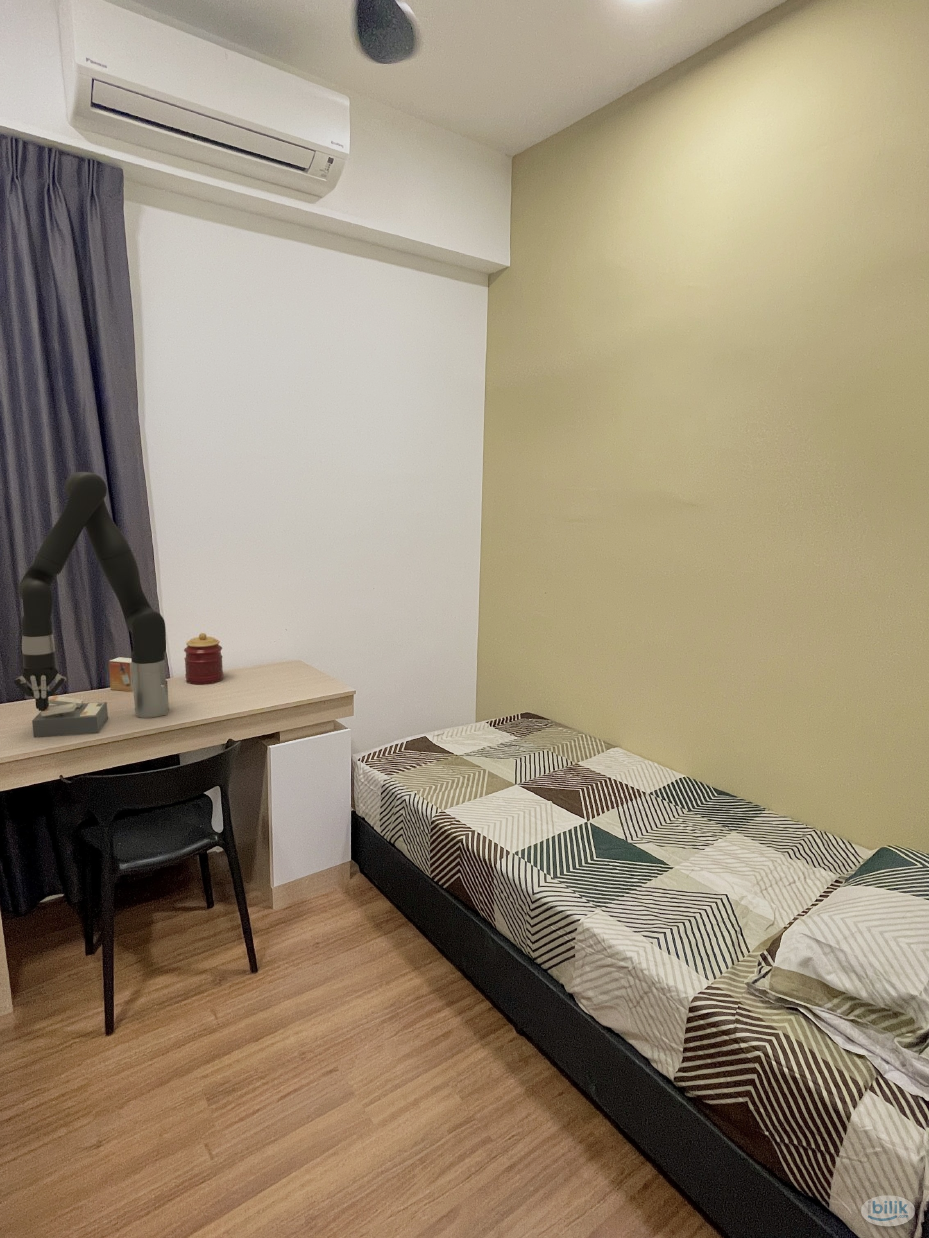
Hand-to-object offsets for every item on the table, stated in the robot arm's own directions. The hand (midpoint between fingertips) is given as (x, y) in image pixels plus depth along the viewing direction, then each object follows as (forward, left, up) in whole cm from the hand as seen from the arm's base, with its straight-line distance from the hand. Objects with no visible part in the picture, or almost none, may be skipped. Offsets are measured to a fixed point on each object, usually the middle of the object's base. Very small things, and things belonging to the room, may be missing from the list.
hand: (42, 709), depth 183 cm
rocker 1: (-4, -7, -1) cm, 8 cm away
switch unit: (-6, -4, -7) cm, 10 cm away
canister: (-39, -46, -7) cm, 60 cm away
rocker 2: (-4, 0, -1) cm, 4 cm away
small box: (-14, -40, -7) cm, 43 cm away
